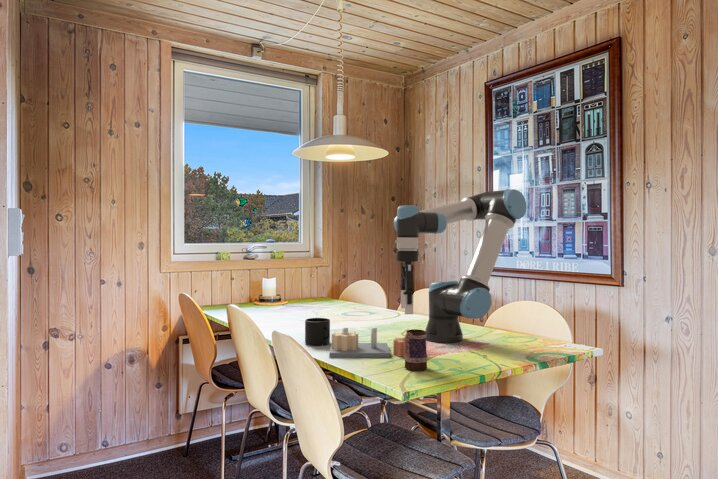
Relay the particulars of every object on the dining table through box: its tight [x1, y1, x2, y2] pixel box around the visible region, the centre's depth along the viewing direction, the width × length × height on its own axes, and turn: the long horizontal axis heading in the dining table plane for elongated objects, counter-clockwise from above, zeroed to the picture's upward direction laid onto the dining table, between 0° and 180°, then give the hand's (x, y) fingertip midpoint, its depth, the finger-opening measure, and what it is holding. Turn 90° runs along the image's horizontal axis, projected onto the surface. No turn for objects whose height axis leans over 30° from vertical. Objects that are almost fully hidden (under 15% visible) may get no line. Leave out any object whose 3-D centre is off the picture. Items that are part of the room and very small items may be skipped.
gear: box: [392, 336, 405, 358], centre depth 174 cm, size 9×9×5 cm
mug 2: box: [404, 328, 428, 372], centre depth 154 cm, size 10×7×12 cm
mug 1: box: [304, 317, 331, 347], centre depth 191 cm, size 9×12×9 cm
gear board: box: [328, 327, 391, 358], centre depth 177 cm, size 21×16×8 cm
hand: (406, 311), depth 174 cm, fingers open, 13 cm apart
